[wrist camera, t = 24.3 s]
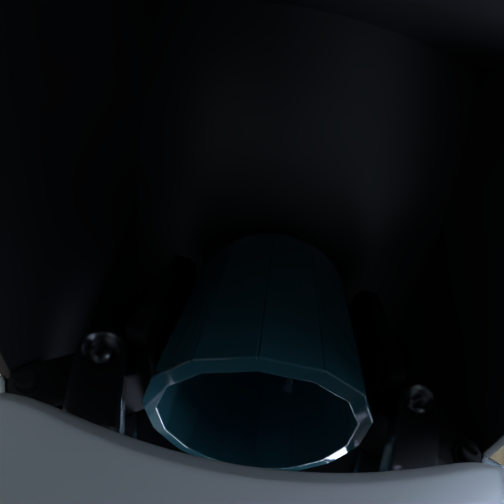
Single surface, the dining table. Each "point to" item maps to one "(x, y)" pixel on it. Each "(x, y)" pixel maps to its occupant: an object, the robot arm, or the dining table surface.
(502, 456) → the dining table surface
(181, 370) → the creamer cup
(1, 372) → the dark gray hinged chest
